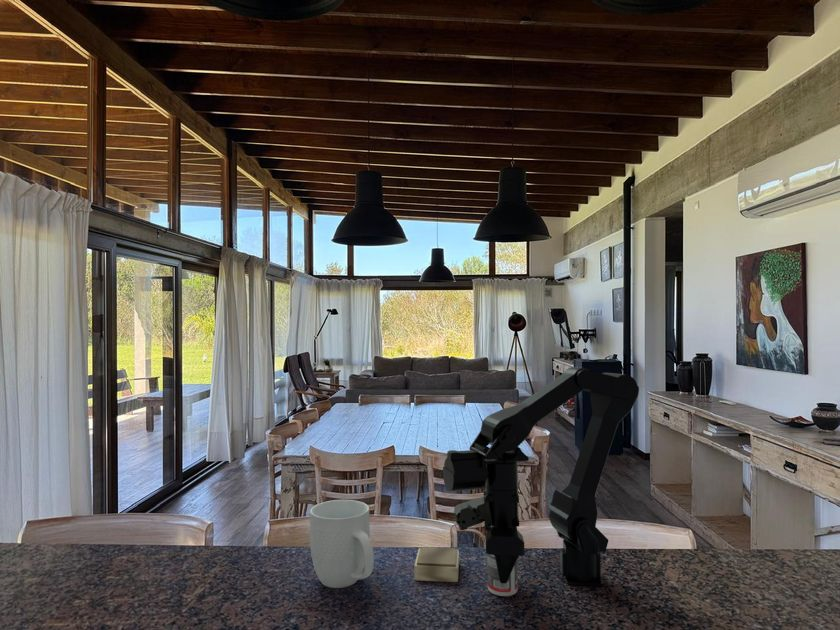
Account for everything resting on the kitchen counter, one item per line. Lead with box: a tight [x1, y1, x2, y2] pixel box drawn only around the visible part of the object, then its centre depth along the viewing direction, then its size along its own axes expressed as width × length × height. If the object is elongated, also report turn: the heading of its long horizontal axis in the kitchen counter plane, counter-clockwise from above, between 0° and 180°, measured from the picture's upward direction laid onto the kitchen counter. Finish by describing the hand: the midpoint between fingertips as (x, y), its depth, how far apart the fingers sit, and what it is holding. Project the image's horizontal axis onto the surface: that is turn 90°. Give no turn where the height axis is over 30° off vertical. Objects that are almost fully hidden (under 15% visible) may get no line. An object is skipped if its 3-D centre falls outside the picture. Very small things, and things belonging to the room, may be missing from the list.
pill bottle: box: [486, 553, 519, 597], centre depth 91 cm, size 5×5×10 cm
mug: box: [309, 499, 375, 589], centre depth 94 cm, size 15×11×13 cm
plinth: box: [413, 546, 460, 583], centre depth 98 cm, size 8×8×3 cm
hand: (502, 575), depth 91 cm, fingers closed on pill bottle, 5 cm apart
